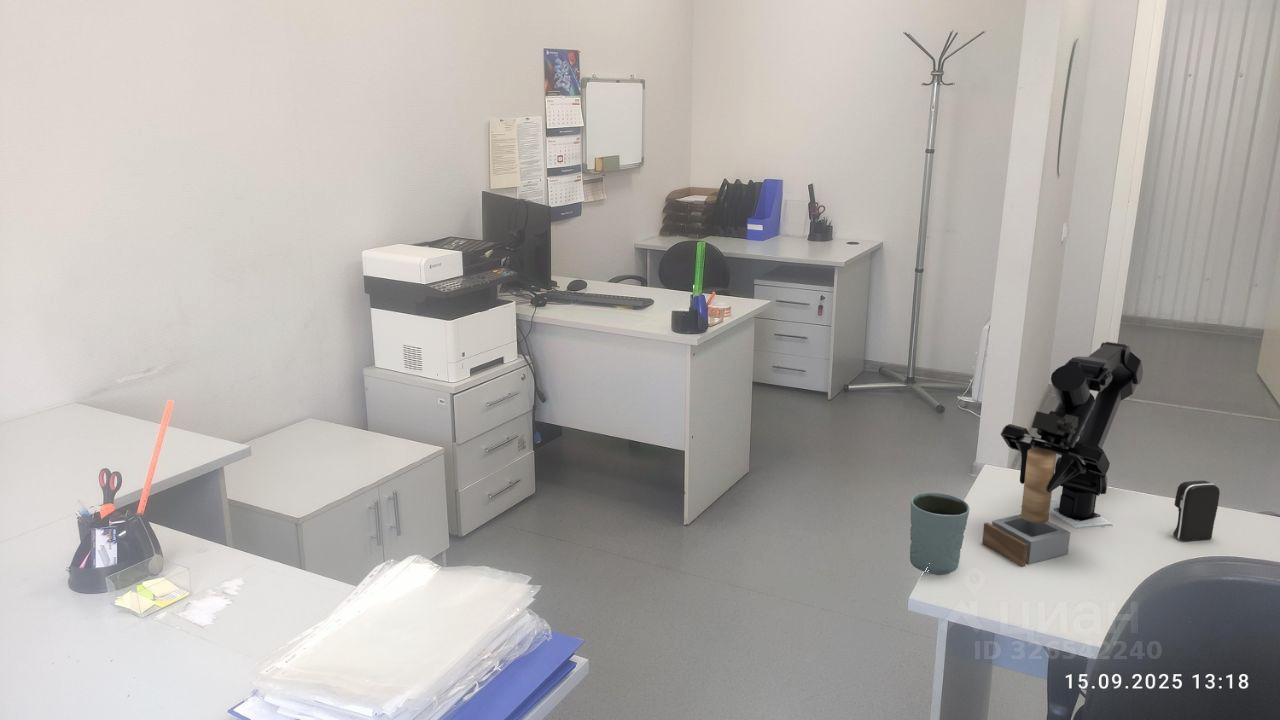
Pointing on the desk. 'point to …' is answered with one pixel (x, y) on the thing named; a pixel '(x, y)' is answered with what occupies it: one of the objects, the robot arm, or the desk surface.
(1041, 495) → the oak dowel
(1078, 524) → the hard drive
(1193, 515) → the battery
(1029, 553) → the socket block
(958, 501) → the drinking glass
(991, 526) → the backstop wall
